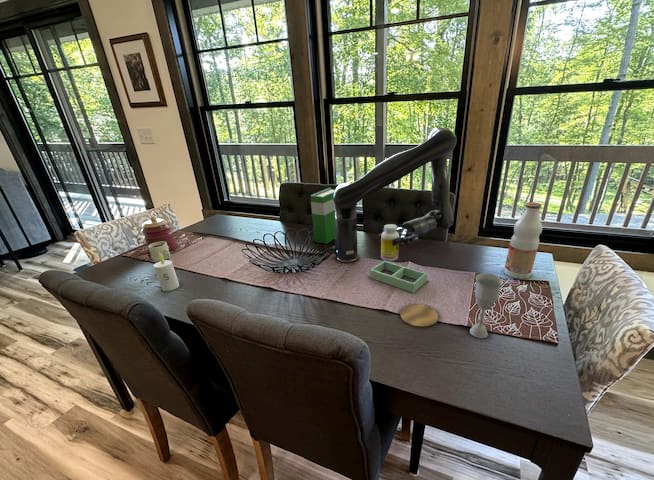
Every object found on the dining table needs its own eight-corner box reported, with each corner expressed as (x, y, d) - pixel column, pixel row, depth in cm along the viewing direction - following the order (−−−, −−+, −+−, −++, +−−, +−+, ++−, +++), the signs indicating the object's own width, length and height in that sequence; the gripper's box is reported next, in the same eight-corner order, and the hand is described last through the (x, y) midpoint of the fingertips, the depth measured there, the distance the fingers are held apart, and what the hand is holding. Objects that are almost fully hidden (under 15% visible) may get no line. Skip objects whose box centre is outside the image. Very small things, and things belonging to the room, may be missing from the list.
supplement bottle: (397, 262, 117) (399, 229, 111) (380, 261, 118) (380, 229, 112) (398, 254, 123) (400, 223, 117) (381, 253, 124) (382, 222, 118)
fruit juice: (517, 281, 118) (535, 209, 105) (498, 270, 126) (512, 202, 113) (536, 276, 120) (555, 205, 107) (516, 266, 128) (532, 199, 115)
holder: (369, 277, 125) (369, 269, 124) (384, 268, 132) (384, 260, 130) (413, 292, 114) (413, 284, 112) (426, 281, 121) (427, 273, 119)
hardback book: (332, 230, 175) (329, 187, 164) (343, 232, 172) (341, 188, 161) (314, 241, 162) (310, 195, 151) (326, 243, 158) (323, 197, 147)
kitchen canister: (182, 247, 163) (172, 214, 155) (158, 256, 153) (146, 222, 145) (168, 243, 169) (158, 211, 161) (144, 251, 159) (131, 218, 151)
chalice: (462, 325, 96) (470, 274, 87) (483, 323, 96) (494, 272, 88) (473, 341, 89) (483, 287, 81) (496, 339, 90) (508, 285, 81)
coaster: (393, 317, 101) (393, 316, 101) (411, 301, 109) (412, 300, 109) (427, 332, 94) (427, 331, 93) (444, 313, 102) (444, 312, 101)
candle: (162, 292, 121) (149, 258, 114) (162, 285, 127) (150, 252, 120) (179, 288, 124) (168, 254, 117) (179, 281, 129) (168, 248, 122)
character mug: (182, 269, 139) (173, 242, 133) (168, 277, 133) (159, 249, 127) (164, 266, 143) (155, 240, 137) (150, 273, 137) (140, 246, 131)
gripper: (401, 215, 128) (372, 225, 119) (430, 224, 118) (400, 235, 109) (401, 233, 131) (372, 244, 122) (429, 242, 121) (399, 255, 112)
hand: (385, 240), depth 115 cm, fingers closed on supplement bottle, 6 cm apart
